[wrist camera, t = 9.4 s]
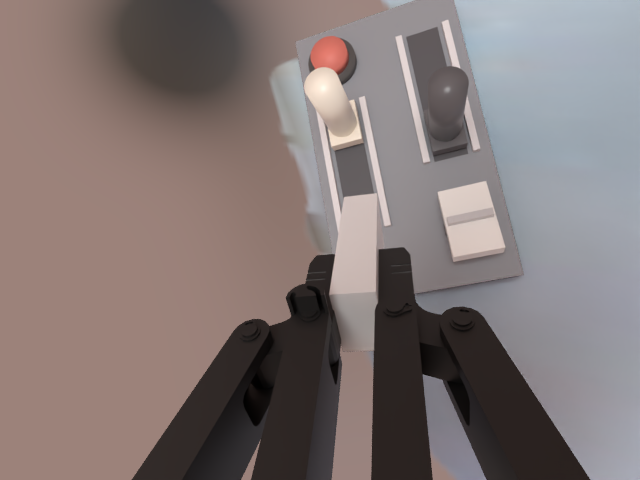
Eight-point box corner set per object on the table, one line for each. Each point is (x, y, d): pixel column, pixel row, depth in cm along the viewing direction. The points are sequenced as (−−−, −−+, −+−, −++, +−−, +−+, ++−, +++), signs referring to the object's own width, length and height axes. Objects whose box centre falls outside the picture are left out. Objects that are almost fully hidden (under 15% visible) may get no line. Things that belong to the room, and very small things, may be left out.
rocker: (438, 198, 36) (437, 188, 35) (484, 188, 35) (486, 177, 34) (453, 261, 34) (453, 255, 32) (503, 252, 33) (506, 244, 31)
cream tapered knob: (327, 113, 41) (299, 67, 32) (356, 104, 40) (335, 55, 32) (334, 150, 40) (307, 113, 32) (363, 142, 39) (344, 102, 31)
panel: (302, 55, 45) (288, 29, 41) (449, 5, 41) (451, -30, 37) (347, 305, 41) (336, 306, 36) (518, 275, 37) (529, 273, 32)
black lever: (423, 115, 38) (420, 65, 30) (456, 106, 37) (463, 53, 29) (433, 155, 37) (432, 116, 29) (466, 147, 37) (476, 104, 28)
